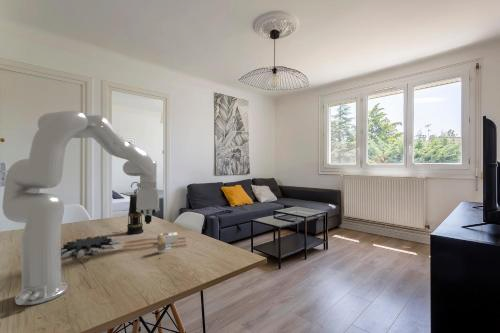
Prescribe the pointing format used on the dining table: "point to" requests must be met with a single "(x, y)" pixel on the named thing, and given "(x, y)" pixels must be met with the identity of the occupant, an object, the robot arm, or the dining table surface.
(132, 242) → the floor panel
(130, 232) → the lantern
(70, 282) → the dining table surface
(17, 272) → the dining table surface
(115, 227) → the dining table surface
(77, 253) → the decorative piece
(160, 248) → the awl
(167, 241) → the block
